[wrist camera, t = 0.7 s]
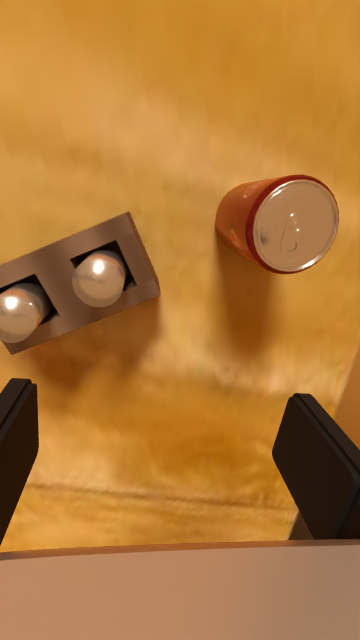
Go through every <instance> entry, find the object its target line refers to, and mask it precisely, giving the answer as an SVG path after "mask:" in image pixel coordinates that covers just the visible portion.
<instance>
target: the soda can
mask: <svg viewBox="0 0 360 640" xmlns="http://www.w3.org/2000/svg"><path fill="white" fill-rule="evenodd" d="M338 224H339V211H338V206H337V202H336V200H335V198H334V195H333V194H332V192H331V191H330V190H329V188H328V187H327V186H326V185H325V184H324V183H322V182H321V181H320V180H318V179H316V178H314V177H311V176H307V175H290V176H284V177H278V178H272V179H266V180H261V181H255V182H249V183H244V184H241V185H238V186H236V187H234V188H233V189H232V190H230V191H229V192H228V193H227V194H226V195H225V196H224V197H223V199H222V201H221V202H220V204H219V207H218V209H217V214H216V228H217V232H218V235H219V237H220V239H221V240H222V242H223V243H224V244H225V245H226V246H227V247H228V248H230V249H231V250H233V251H235V252H237V253H238V254H240V255H242V256H243V257H245V258H247V259H249V260H250V261H252V262H254V263H256V264H257V265H259V266H261V267H263V268H264V269H266V270H268V271H271V272H273V273H277V274H294V273H298V272H301V271H303V270H306V269H308V268H310V267H311V266H313V265H314V264H316V263H317V262H318V261H319V260H320V259H321V258H322V257H323V256H324V255H325V254H326V253H327V251H328V250H329V249H330V247H331V245H332V243H333V241H334V239H335V236H336V233H337V230H338Z"/></svg>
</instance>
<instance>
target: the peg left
mask: <svg viewBox="0 0 360 640" xmlns="http://www.w3.org/2000/svg"><path fill="white" fill-rule="evenodd" d="M50 309H51V300H50V298H49V296H48V294H47V293H46V291H45V289H44V288H43V287H42V286H40V285H38V284H36V283H33V282H20V283H17V284H16V285H14V286H12V287H11V288H9V289H8V290H6V291H5V292H3V293H2V294H0V341H3V342H8V343H16V342H20V341H23V340H25V339H26V338H27V337H28V336H29V335H30V334H31V333H32V332H33V331H34V330H35V328H36V327H37V326H38V325H39V324H40V323H41V322H42V320H43V319H44V318H45V317H46V316H47V315H48V313H49V312H50Z"/></svg>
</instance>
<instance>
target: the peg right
mask: <svg viewBox="0 0 360 640" xmlns="http://www.w3.org/2000/svg"><path fill="white" fill-rule="evenodd" d="M126 274H127V269H126V264H125V262H124V260H123V259H122V258H121V256H120V255H118V254H117V253H116V252H114V251H111V250H107V249H101V250H97V251H95V252H93V253H91V254H90V255H89V256H88V257H87V258H86V259H85V260H84V261H83V262H82V263H81V264H80V265H79V266H78V267H77V268H76V270H75V271H74V274H73V277H72V285H73V289H74V292H75V294H76V295H77V297H78V298H79V299H80V300H81V301H82V302H84V303H85V304H87V305H90V306H93V307H106V306H109V305H111V304H113V303H114V302H115V301H117V299H118V298H119V297H120V295H121V293H122V290H123V286H124V282H125V278H126Z"/></svg>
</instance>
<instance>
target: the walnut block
mask: <svg viewBox="0 0 360 640" xmlns="http://www.w3.org/2000/svg"><path fill="white" fill-rule="evenodd" d="M101 249H107V250H111V251H114V252H116V253H117V254H118V255H120V256H121V258H122V259H123V260H124V262H125V264H126V269H127V274H126V278H125V282H124V286H123V290H122V293H121V295H120V297H119V298H118V299H117V301H115V302H114V303H113V304H111V305H109V306H106V307H93V306H90V305H87V304H85V303H84V302H82V301H81V300H80V299H79V298H78V297H77V295H76V294H75V292H74V289H73V285H72V277H73V274H74V271H75V270H76V268H77V267H78V266H79V265H80V264H81V263H82V262H83V261H84V260H85V259H86V258H87V257H88V256H89V255H90V254H91V253H93V252H95V251H97V250H101ZM20 282H33V283H36V284H38V285H40V286H42V287H43V288H44V289H45V291H46V293H47V294H48V296H49V298H50V300H51V309H50V312H49V313H48V315H47V316H46V317H45V318H44V319H43V320H42V322H41V323H40V324H39V325H38V326H37V327H36V328H35V330H34V331H33V332H32V333H31V334H30V335H29V336H28V337H27V338H26V339H25V340H23V341H20V342H16V343H8V342H3V341H2V342H3V343H4V345H5V346H6V348H7V349H8V351H9V352H10V353H11V355H13V354H16V353H18V352H21V351H23V350H25V349H28V348H30V347H33V346H35V345H38V344H40V343H43V342H45V341H48V340H50V339H53V338H55V337H58V336H60V335H63V334H65V333H68V332H70V331H73V330H75V329H77V328H80V327H82V326H85V325H87V324H90V323H92V322H95V321H97V320H100V319H102V318H105V317H107V316H110V315H112V314H115V313H117V312H120V311H122V310H125V309H127V308H129V307H132V306H134V305H137V304H139V303H142V302H144V301H147V300H149V299H152V298H154V297H157V296H159V295H161V294H160V288H159V281H158V278H157V276H156V273H155V271H154V269H153V266H152V264H151V262H150V259H149V257H148V254H147V252H146V250H145V247H144V245H143V243H142V240H141V238H140V236H139V233H138V231H137V229H136V226H135V224H134V222H133V219H132V217H131V215H130V212H126V213H124V214H122V215H119V216H117V217H114V218H112V219H110V220H107V221H105V222H102V223H100V224H98V225H95V226H93V227H90V228H88V229H86V230H83V231H81V232H78V233H76V234H74V235H71V236H69V237H67V238H64V239H62V240H59V241H57V242H55V243H52V244H50V245H47V246H45V247H43V248H40V249H38V250H35V251H33V252H31V253H28V254H26V255H24V256H21V257H19V258H16V259H14V260H12V261H9V262H7V263H4V264H2V265H0V294H2V293H3V292H5V291H6V290H8V289H9V288H11V287H12V286H14V285H16V284H17V283H20Z"/></svg>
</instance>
